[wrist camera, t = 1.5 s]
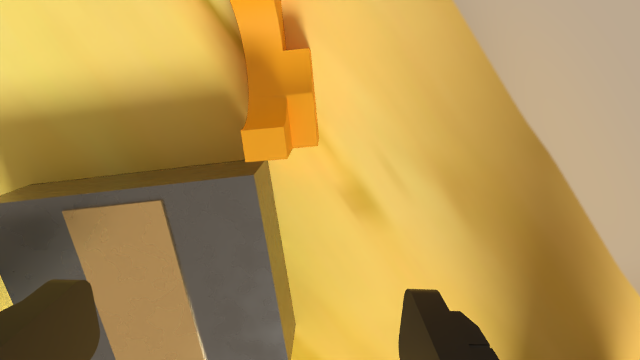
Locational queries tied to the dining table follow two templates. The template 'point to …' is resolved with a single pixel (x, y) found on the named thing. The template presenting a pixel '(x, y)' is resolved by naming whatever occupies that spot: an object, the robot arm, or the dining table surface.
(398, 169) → the dining table surface
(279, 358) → the steel riser
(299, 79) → the pipe clamp
